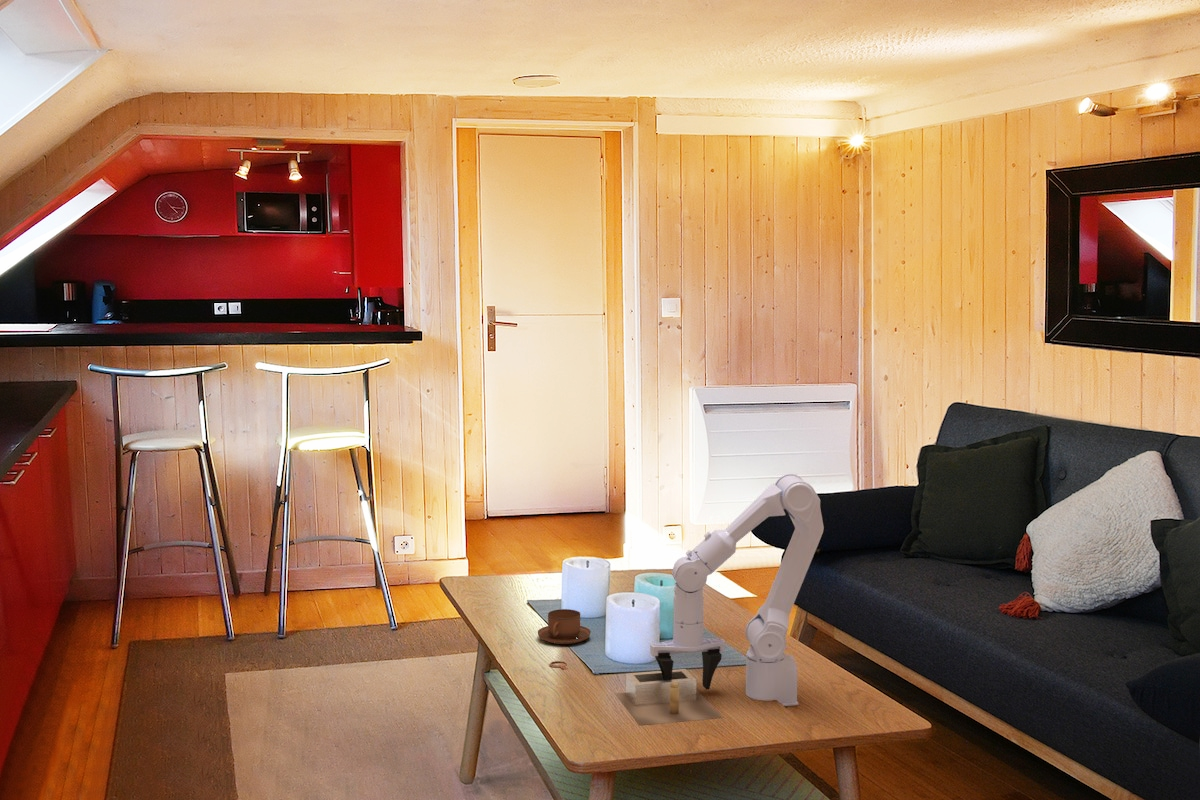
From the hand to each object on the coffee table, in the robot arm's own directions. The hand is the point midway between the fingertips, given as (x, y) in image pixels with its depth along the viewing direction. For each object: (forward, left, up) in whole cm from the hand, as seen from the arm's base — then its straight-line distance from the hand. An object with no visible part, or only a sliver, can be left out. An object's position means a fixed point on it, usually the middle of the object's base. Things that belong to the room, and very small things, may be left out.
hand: (687, 689), depth 224 cm
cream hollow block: (+5, 0, -1) cm, 5 cm away
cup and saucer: (+14, -45, -3) cm, 47 cm away
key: (+17, -22, -3) cm, 28 cm away
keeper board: (+5, +5, -3) cm, 7 cm away
